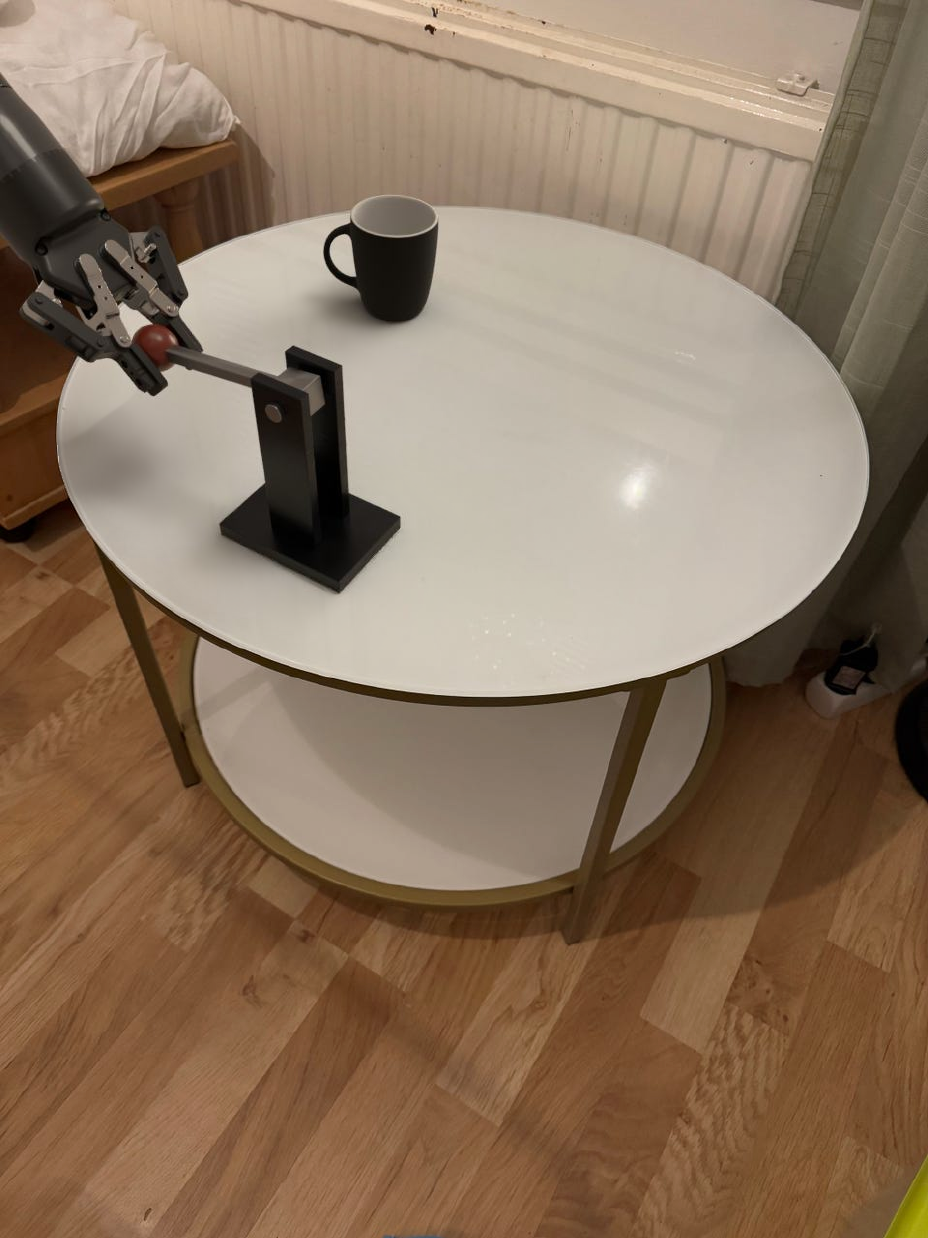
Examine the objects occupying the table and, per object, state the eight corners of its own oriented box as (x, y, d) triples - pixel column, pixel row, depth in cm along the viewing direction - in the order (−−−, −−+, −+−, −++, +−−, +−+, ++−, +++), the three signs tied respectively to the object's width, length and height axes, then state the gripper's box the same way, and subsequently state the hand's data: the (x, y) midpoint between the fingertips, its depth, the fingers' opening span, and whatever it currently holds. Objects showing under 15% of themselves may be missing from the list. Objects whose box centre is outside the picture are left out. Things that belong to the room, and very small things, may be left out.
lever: (129, 374, 72) (114, 332, 69) (161, 352, 74) (148, 311, 71) (303, 431, 65) (294, 388, 63) (332, 406, 67) (325, 363, 65)
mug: (439, 288, 102) (443, 198, 94) (430, 332, 96) (433, 240, 88) (333, 277, 102) (328, 187, 94) (318, 321, 96) (311, 228, 89)
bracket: (220, 534, 75) (187, 373, 63) (287, 475, 80) (268, 315, 68) (339, 593, 72) (329, 435, 60) (400, 527, 77) (402, 369, 65)
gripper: (-48, 187, 59) (135, 407, 65) (111, 117, 67) (259, 318, 73) (-74, 240, 64) (97, 439, 70) (75, 169, 72) (216, 353, 78)
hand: (179, 376), depth 71 cm, fingers closed on lever, 3 cm apart
